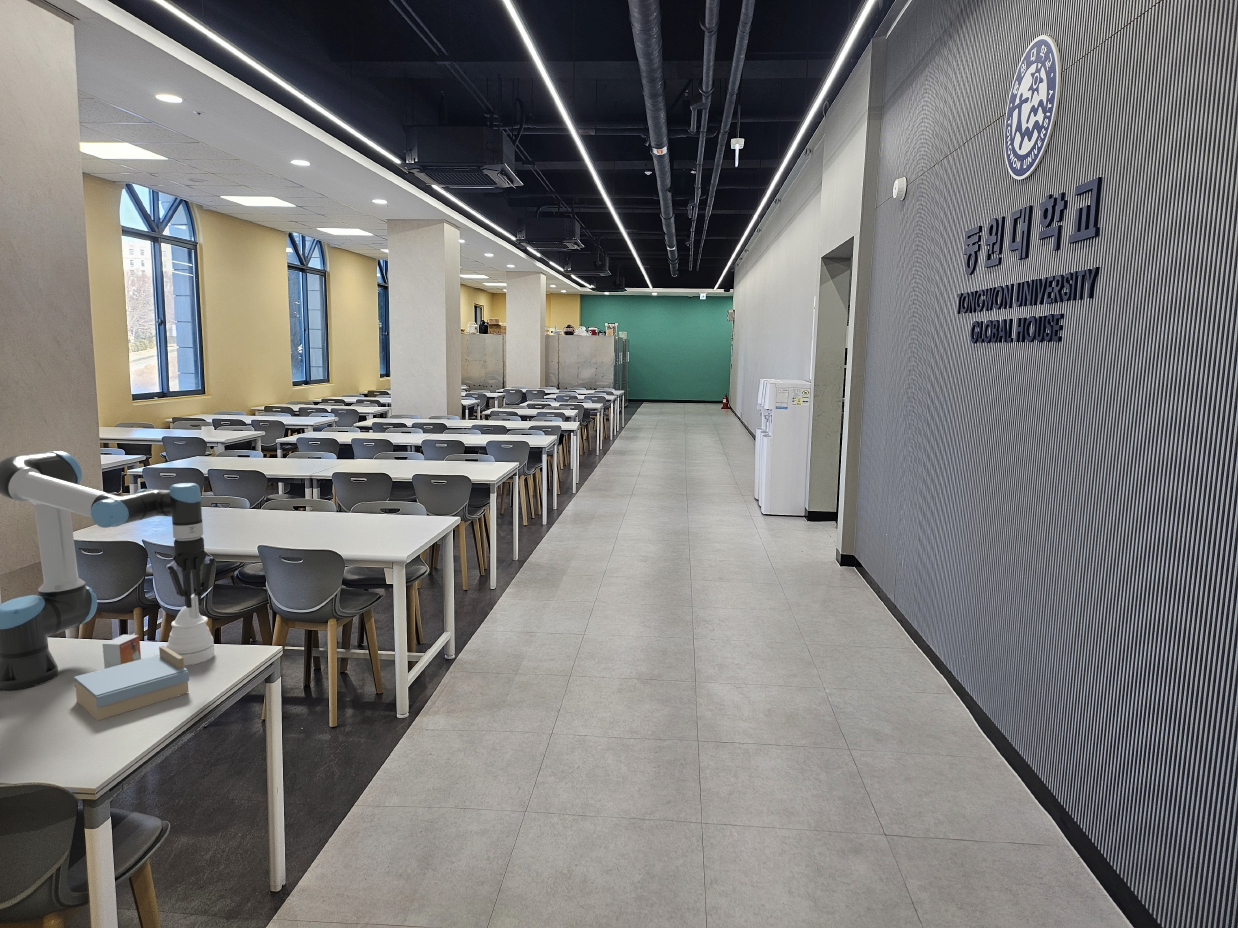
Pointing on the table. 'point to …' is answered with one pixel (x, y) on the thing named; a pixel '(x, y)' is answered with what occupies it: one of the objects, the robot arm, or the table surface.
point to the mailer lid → (135, 677)
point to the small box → (121, 650)
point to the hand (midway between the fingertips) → (194, 617)
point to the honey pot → (191, 638)
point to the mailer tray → (126, 700)
